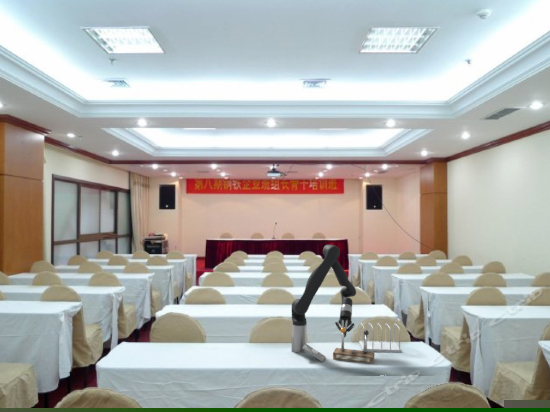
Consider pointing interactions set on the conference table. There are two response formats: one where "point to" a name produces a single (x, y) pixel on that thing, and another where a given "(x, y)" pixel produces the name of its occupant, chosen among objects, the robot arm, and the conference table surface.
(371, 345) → the file sorter
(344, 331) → the lever orange
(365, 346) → the lever black
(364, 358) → the switch panel
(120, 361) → the conference table surface
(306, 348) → the light switch
